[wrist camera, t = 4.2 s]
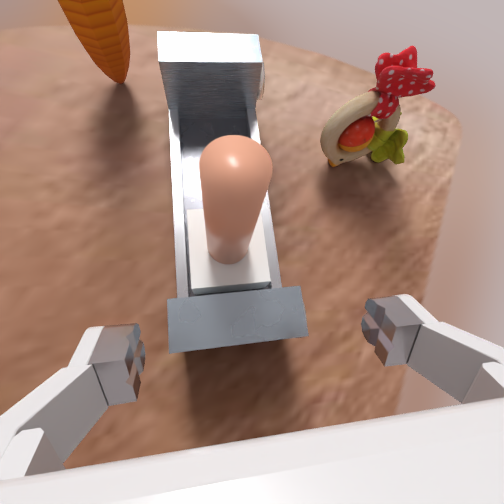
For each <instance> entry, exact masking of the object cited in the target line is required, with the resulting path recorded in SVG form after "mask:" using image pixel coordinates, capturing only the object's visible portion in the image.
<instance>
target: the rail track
mask: <svg viewBox="0 0 504 504" xmlns="http://www.w3.org/2000/svg"><path fill="white" fill-rule="evenodd" d="M158 57H159V65H160V70H161V75H162V80H163V84H164V89H165V94H166V99H167V104H168V108H169V126H170V148H171V170H172V192H173V213H174V235H175V257H176V278H177V298H174V299H167V307H168V334H169V354H170V353H178V352H186V351H193V350H201V349H209V348H217V347H225V346H233V345H241V344H249V343H256V342H264V341H272V340H280V339H288V338H302V337H304V336H309V335H308V329H307V320H306V311H305V307H304V303H303V300H302V294H301V288H300V286H293V287H283V288H282V284H281V278H280V271H279V264H278V258H277V251H276V244H275V238H274V231H273V224H272V218H271V211H270V204H269V198H268V191H267V193H266V196H265V199H264V202H263V205H262V208H261V214H262V222H263V229H264V236H265V243H266V250H267V257H268V265H269V272H270V279H271V282H270V283H269V284H268V285H267V286H266V287H265V288H261V289H251V290H241V291H231V292H221V293H211V294H201V295H194V293H193V291H192V289H191V273H190V256H189V240H188V223H187V210H188V209H203V201H202V191H201V182H200V172H199V160H200V156H201V154H202V152H203V150H204V149H205V147H206V146H207V145H208V144H209V143H211V142H212V141H213V140H215V139H217V138H219V137H223V136H227V135H240V136H245V137H248V138H251V139H253V140H255V141H256V142H258V143H259V144H260V137H259V131H258V124H257V117H256V111H255V107H256V101H257V100H262V98H263V93H264V83H265V72H264V63H263V60H262V55H261V49H260V43H259V37H258V34H224V33H187V32H158Z"/></svg>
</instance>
